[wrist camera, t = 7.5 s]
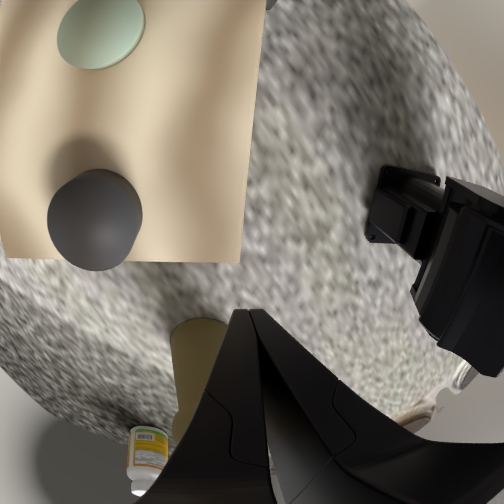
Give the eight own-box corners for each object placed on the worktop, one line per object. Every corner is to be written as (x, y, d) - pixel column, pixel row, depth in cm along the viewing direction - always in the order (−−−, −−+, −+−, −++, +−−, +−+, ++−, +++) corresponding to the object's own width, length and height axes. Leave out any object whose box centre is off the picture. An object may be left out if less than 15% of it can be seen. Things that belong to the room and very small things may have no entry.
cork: (158, 346, 26) (150, 453, 16) (195, 306, 24) (198, 424, 14) (209, 371, 28) (219, 470, 19) (249, 336, 27) (273, 443, 17)
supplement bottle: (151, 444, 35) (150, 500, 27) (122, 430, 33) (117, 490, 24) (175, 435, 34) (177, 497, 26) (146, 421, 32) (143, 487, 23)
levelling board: (266, -33, 11) (280, -59, 7) (236, 250, 19) (243, 281, 16) (15, -4, 8) (-13, -15, 5) (15, 247, 16) (-8, 273, 13)
